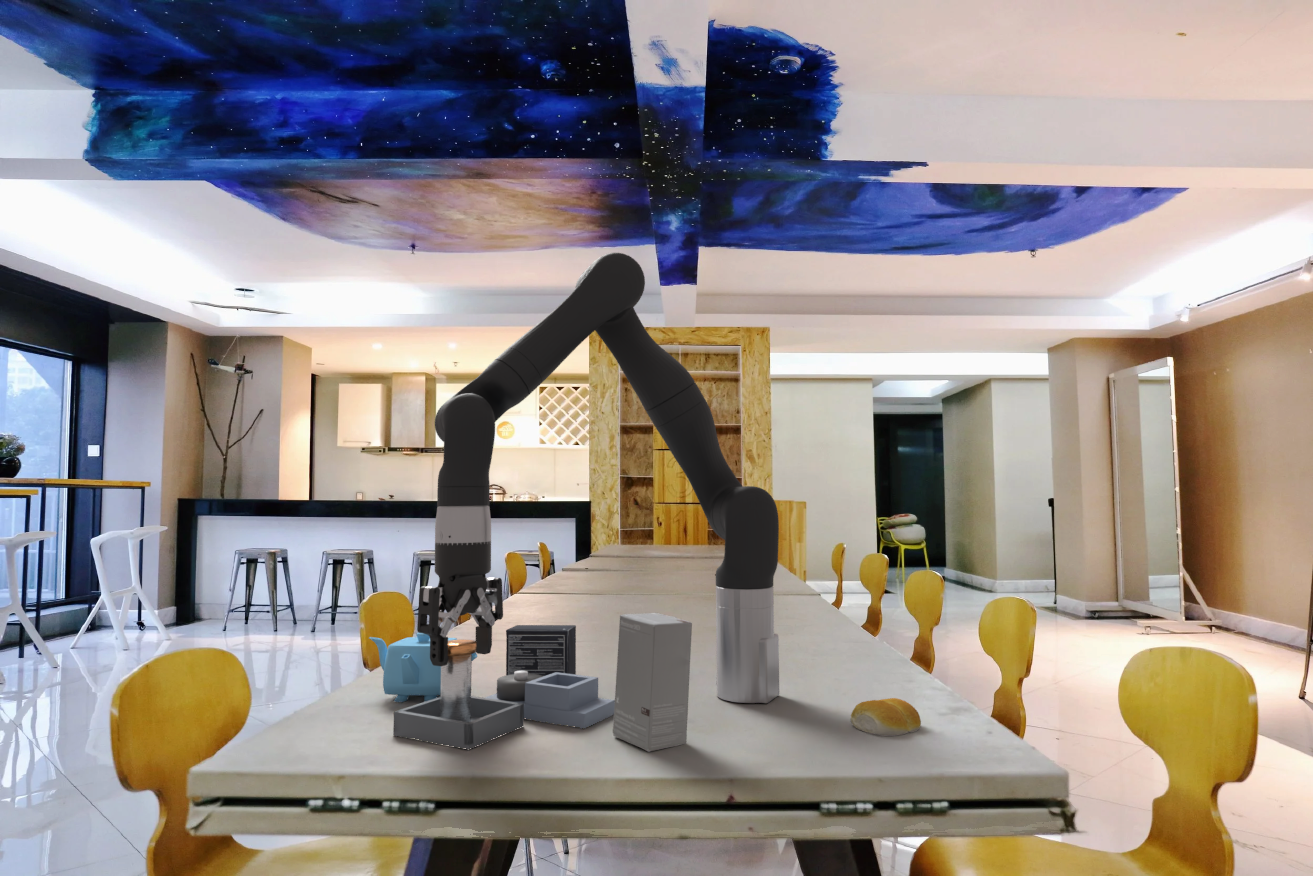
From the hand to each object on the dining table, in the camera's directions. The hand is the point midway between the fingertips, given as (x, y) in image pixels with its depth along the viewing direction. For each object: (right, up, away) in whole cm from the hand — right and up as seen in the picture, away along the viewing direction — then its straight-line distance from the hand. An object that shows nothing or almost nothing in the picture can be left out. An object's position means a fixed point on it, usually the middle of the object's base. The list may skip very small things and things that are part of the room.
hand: (462, 659), depth 101 cm
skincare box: (+26, -9, -5) cm, 28 cm away
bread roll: (+58, -10, 0) cm, 59 cm away
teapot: (-11, -11, +17) cm, 23 cm away
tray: (0, -10, -1) cm, 10 cm away
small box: (+8, -12, +20) cm, 25 cm away
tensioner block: (+11, -10, +8) cm, 17 cm away
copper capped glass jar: (-1, -9, -2) cm, 9 cm away
